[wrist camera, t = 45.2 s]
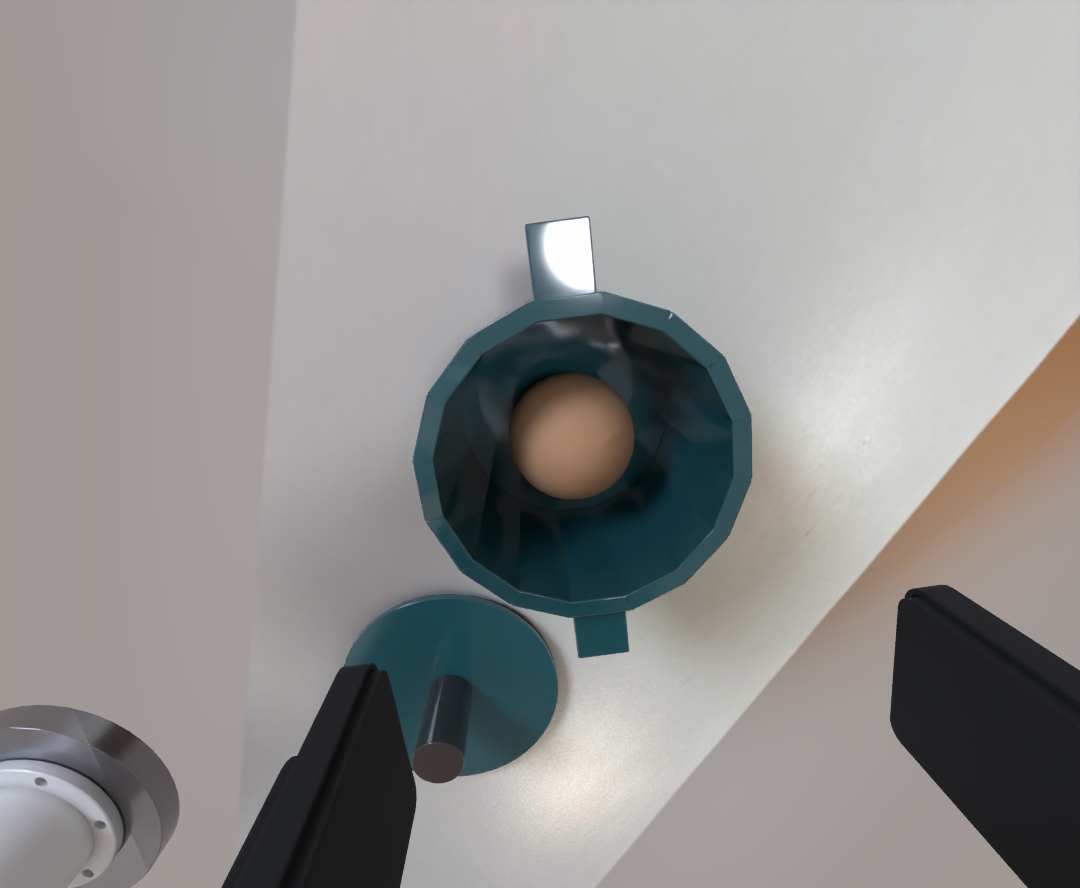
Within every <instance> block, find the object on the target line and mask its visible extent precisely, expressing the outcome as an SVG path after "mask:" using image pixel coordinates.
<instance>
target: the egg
mask: <svg viewBox="0 0 1080 888" xmlns="http://www.w3.org/2000/svg"><path fill="white" fill-rule="evenodd" d="M509 441H510V448H511V453H512V457H513V459H514V461H515V463H516V465H517V467H518V469H519V471H520V472H521V474H522V475H523V476H524V477H525V479H526V480H527V481H528V482H529V483H530V484H531V485H533V486H534V487H535V488H536V489H537V490H539V491H541V492H543V493H545V494H547V495H549V496H551V497H555V498H560V499H565V500H575V499H585V498H588V497H592V496H595V495H598V494H599V493H601V492H603V491H604V490H606V489H608V488H610V487H611V486H612V485H613V484H614V483H615V482H616V481H617V480H618V479H619V478H620V477H621V476H622V474H623V473H624V471H625V470H626V468H627V466H628V464H629V462H630V459H631V456H632V453H633V449H634V428H633V421H632V417H631V415H630V413H629V410H628V408H627V406H626V404H625V403H624V401H623V400H622V398H621V397H620V395H619V394H618V393H617V392H616V391H615V390H614V389H613V388H611V387H610V386H609V385H607V384H606V383H605V382H603V381H602V380H600V379H598V378H595V377H593V376H590V375H587V374H582V373H577V372H564V373H559V374H554V375H552V376H550V377H547V378H545V379H543V380H540V381H538V382H537V383H536V384H535V385H533V386H532V387H531V388H530V389H528V390H527V391H526V392H525V394H524V395H523V396H522V398H521V399H520V401H519V402H518V403H517V405H516V407H515V410H514V412H513V415H512V417H511V422H510V427H509Z"/></svg>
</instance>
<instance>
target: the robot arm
mask: <svg viewBox="0 0 1080 888" xmlns="http://www.w3.org/2000/svg"><path fill="white" fill-rule="evenodd" d="M890 721H891V726H892V728H893V731H894V733H895V735H896V737H897V738H898V740H899V741H900V742H901V744H902V745H903V746H904V747H905V748H906V749H907V751H908V752H909V753H910V754H911V755H912V756H913V757H914V758H915V760H916V761H917V762H918V763H919V764H920V765H921V766H922V767H923V769H924V770H925V771H926V772H927V773H928V774H929V775H930V777H931V778H932V779H933V780H934V781H935V782H936V784H937V785H938V786H939V787H940V788H941V789H942V790H943V792H944V793H945V794H946V795H947V796H948V797H949V798H950V799H951V801H952V802H953V803H954V804H955V805H956V806H957V808H958V809H959V810H960V811H961V812H962V813H963V814H964V815H965V817H966V818H967V819H968V820H969V821H970V822H971V823H972V825H973V826H974V827H975V828H976V829H977V830H978V831H979V833H980V834H981V835H982V836H983V837H984V838H985V839H986V840H987V842H988V843H989V844H990V845H991V846H992V847H993V849H994V850H995V851H996V852H997V853H998V854H999V855H1000V856H1001V858H1002V859H1003V860H1004V861H1005V862H1006V863H1007V865H1008V866H1009V867H1010V868H1011V869H1012V870H1013V871H1014V873H1016V875H1018V877H1019V878H1020V879H1021V880H1022V882H1023V883H1024V884H1025V885H1026V886H1027V887H1028V888H1080V670H1078V669H1076V668H1075V667H1073V666H1072V665H1070V664H1069V663H1067V662H1066V661H1064V660H1063V659H1061V658H1060V657H1058V656H1056V655H1055V654H1053V653H1052V652H1050V651H1049V650H1047V649H1046V648H1044V647H1043V646H1041V645H1040V644H1038V643H1036V642H1035V641H1033V640H1032V639H1030V638H1029V637H1027V636H1026V635H1024V634H1022V633H1021V632H1020V631H1018V630H1016V629H1015V628H1013V627H1012V626H1010V625H1009V624H1007V623H1006V622H1004V621H1002V620H1001V619H1000V618H998V617H996V616H995V615H993V614H992V613H990V612H989V611H987V610H986V609H984V608H983V607H981V606H980V605H978V604H976V603H975V602H973V601H972V600H970V599H968V598H967V597H966V596H964V595H963V594H961V593H959V592H958V591H956V590H955V589H953V588H951V587H949V586H947V585H936V586H929V587H922V588H915V589H911V590H909V591H908V592H907V593H906V595H905V598H904V599H902V600H901V601H900V602H899V605H898V615H897V629H896V642H895V656H894V670H893V684H892V699H891V713H890ZM415 809H416V785H415V781H414V777H413V773H412V768H411V764H410V760H409V756H408V752H407V748H406V744H405V740H404V736H403V732H402V728H401V724H400V720H399V715H398V711H397V707H396V703H395V699H394V695H393V691H392V687H391V683H390V679H389V675H388V673H387V671H386V670H381V671H378V668H377V666H376V665H375V664H374V663H369V664H362V665H355V666H347V667H342V668H341V669H340V670H339V671H338V673H337V675H336V677H335V679H334V681H333V683H332V685H331V687H330V689H329V691H328V693H327V696H326V698H325V700H324V702H323V704H322V706H321V708H320V710H319V712H318V714H317V716H316V718H315V720H314V722H313V724H312V726H311V728H310V731H309V733H308V735H307V737H306V739H305V741H304V743H303V745H302V747H301V749H300V751H299V753H298V755H297V756H293V757H291V758H290V759H289V760H288V761H287V762H286V763H285V765H284V766H283V768H282V769H281V771H280V773H279V775H278V777H277V779H276V781H275V783H274V785H273V787H272V789H271V791H270V793H269V795H268V797H267V799H266V801H265V803H264V805H263V807H262V809H261V810H260V812H259V814H258V816H257V818H256V820H255V822H254V824H253V826H252V828H251V830H250V832H249V834H248V836H247V838H246V840H245V842H244V844H243V846H242V848H241V850H240V852H239V854H238V856H237V858H236V860H235V862H234V864H233V866H232V868H231V870H230V872H229V874H228V876H227V878H226V880H225V882H224V884H223V886H222V888H400V884H401V879H402V874H403V869H404V864H405V859H406V854H407V849H408V844H409V839H410V834H411V829H412V824H413V819H414V814H415ZM123 835H124V830H123V823H122V819H121V816H120V814H119V811H118V809H117V807H116V806H115V804H114V803H113V801H112V800H111V798H110V797H109V796H108V795H107V794H106V793H105V792H104V791H103V790H102V789H101V788H100V787H99V786H98V785H96V784H95V783H94V782H92V781H91V780H90V779H88V778H86V777H85V776H83V775H81V774H79V773H77V772H75V771H73V770H71V769H68V768H65V767H63V766H60V765H57V764H53V763H48V762H44V761H36V760H8V761H3V762H0V888H75V887H78V886H81V885H83V884H86V883H89V882H90V881H92V880H94V879H95V878H97V877H98V876H100V875H101V874H102V873H103V872H104V871H105V870H106V869H107V868H108V866H109V865H110V864H111V862H112V861H113V859H114V858H115V857H116V855H117V854H118V852H119V850H120V848H121V845H122V843H123Z"/></svg>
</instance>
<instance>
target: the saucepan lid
mask: <svg viewBox="0 0 1080 888" xmlns="http://www.w3.org/2000/svg"><path fill="white" fill-rule="evenodd" d="M369 663H374V664H375V665H376V666H377V668H378V671H381V670H386V671H387V673H388V675H389V679H390V683H391V687H392V691H393V695H394V699H395V703H396V707H397V711H398V715H399V720H400V724H401V728H402V732H403V736H404V740H405V744H406V748H407V752H408V756H409V760H410V764H411V768H412V770H413V771H415V773H416V774H417V775H418V776H419V777H420V778H422V779H423V780H425V781H428V782H431V783H445V782H449V781H451V780H453V779H455V778H456V777H457V776H469V775H474V774H480V773H484V772H487V771H490V770H494V769H496V768H499V767H501V766H503V765H506V764H508V763H509V762H511V761H513V760H515V759H517V758H518V757H519V756H521V755H522V754H524V753H525V752H526V751H527V750H529V749H530V748H531V747H532V746H533V745H534V744H535V743H536V742H537V741H538V739H539V738H540V737H541V736H542V735H543V733H544V731H545V730H546V728H547V727H548V725H549V723H550V721H551V719H552V716H553V714H554V711H555V707H556V703H557V695H558V681H557V672H556V668H555V663H554V660H553V658H552V655H551V653H550V651H549V649H548V647H547V645H546V644H545V642H544V640H543V639H542V638H541V637H540V635H539V634H538V633H537V631H536V630H535V629H534V628H533V627H532V626H531V625H530V624H529V623H528V622H526V621H525V620H524V619H522V618H521V617H520V616H518V615H517V614H516V613H514V612H512V611H510V610H509V609H507V608H505V607H503V606H501V605H499V604H496V603H494V602H491V601H488V600H485V599H481V598H478V597H472V596H466V595H455V594H442V595H431V596H425V597H420V598H416V599H413V600H410V601H407V602H404V603H401V604H399V605H397V606H395V607H393V608H391V609H389V610H388V611H386V612H384V613H383V614H381V615H380V616H378V617H377V618H376V619H375V620H373V621H372V622H371V623H370V624H369V625H368V626H367V627H366V628H365V629H364V630H363V631H362V632H361V634H360V635H359V637H358V638H357V640H356V641H355V642H354V644H353V646H352V648H351V650H350V652H349V654H348V657H347V659H346V662H345V665H344V667H347V666H355V665H362V664H369Z"/></svg>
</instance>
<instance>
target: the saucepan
mask: <svg viewBox="0 0 1080 888" xmlns="http://www.w3.org/2000/svg"><path fill="white" fill-rule="evenodd" d="M525 235H526V243H527V251H528V259H529V267H530V275H531V283H532V291H533V300H528V301H526V302H524V303H522V304H521V305H519V306H517V307H516V308H514V309H512V310H510V311H509V312H507V313H505V314H504V315H502V316H500V317H499V318H497V319H495V320H494V321H492V322H490V323H489V324H487V325H485V326H484V327H483V328H481V329H480V330H478V331H477V332H476V333H474V334H473V335H471V336H470V337H469V338H468V339H467V340H466V341H465V343H464V344H463V345H462V347H461V348H460V349H459V351H458V352H457V354H456V355H455V356H454V358H453V359H452V360H451V362H450V363H449V365H448V366H447V367H446V369H445V370H444V371H443V373H442V374H441V376H440V377H439V378H438V380H437V381H436V383H435V384H434V385H433V387H432V388H431V389H430V391H429V392H428V395H427V396H426V400H425V405H424V409H423V414H422V419H421V423H420V428H419V432H418V437H417V442H416V446H415V451H414V455H413V465H414V470H415V475H416V479H417V484H418V489H419V494H420V499H421V504H422V509H423V514H424V518H425V521H426V522H427V524H428V526H429V527H430V529H431V530H432V531H433V533H434V534H435V536H436V537H437V539H438V540H439V541H440V543H441V544H442V546H443V547H444V549H445V550H446V552H447V553H448V554H449V556H450V557H451V559H452V560H453V562H454V563H455V564H456V566H457V567H458V569H459V570H460V571H461V572H462V573H463V574H465V575H466V576H468V577H469V578H471V579H472V580H474V581H475V582H477V583H478V584H480V585H481V586H483V587H485V588H486V589H488V590H489V591H491V592H492V593H494V594H495V595H497V596H498V597H500V598H501V599H503V600H504V601H506V602H508V603H509V604H512V605H513V606H517V607H522V608H526V609H531V610H536V611H540V612H545V613H549V614H554V615H558V616H563V617H567V618H570V617H571V618H573V621H574V629H575V637H576V645H577V651H578V657H579V658H585V657H593V656H601V655H608V654H616V653H624V652H629V644H628V633H627V622H626V611H630V610H633V609H635V608H637V607H639V606H641V605H643V604H645V603H647V602H649V601H651V600H653V599H655V598H657V597H659V596H661V595H663V594H665V593H667V592H669V591H671V590H673V589H675V588H677V587H679V586H681V585H683V584H685V583H686V581H688V580H689V579H690V578H691V577H692V576H693V575H694V573H695V572H696V571H697V570H698V569H699V568H700V567H701V566H702V565H703V564H704V563H705V562H706V561H707V560H708V559H709V557H710V556H711V555H712V554H713V553H714V552H715V551H716V550H717V549H718V548H719V547H720V546H721V545H722V544H723V543H724V542H725V540H726V539H727V538H728V537H727V536H729V535H730V532H731V530H732V527H733V525H734V523H735V520H736V518H737V515H738V513H739V510H740V508H741V505H742V503H743V500H744V498H745V495H746V493H747V491H748V488H749V486H750V483H751V479H752V429H751V413H750V411H749V409H748V406H747V404H746V402H745V400H744V398H743V395H742V393H741V391H740V389H739V387H738V385H737V382H736V380H735V378H734V376H733V374H732V372H731V369H730V367H729V365H728V363H727V361H726V359H725V357H724V356H723V355H722V354H721V353H720V352H719V351H718V350H717V349H715V348H714V347H713V346H712V345H711V344H710V343H708V342H707V341H706V340H705V339H704V338H703V337H701V336H700V335H699V334H698V333H697V332H696V331H694V330H693V329H692V328H691V327H690V326H689V325H687V324H686V323H685V322H684V321H683V320H682V319H680V318H679V317H678V316H677V315H676V314H675V313H673V312H671V311H669V310H666V309H663V308H659V307H656V306H652V305H649V304H645V303H642V302H638V301H635V300H632V299H628V298H625V297H621V296H618V295H614V294H611V293H607V292H602V291H601V292H596V282H595V271H594V260H593V249H592V238H591V227H590V218H589V216H585V217H577V218H570V219H562V220H554V221H547V222H539V223H532V224H526V225H525ZM564 372H577V373H582V374H587V375H590V376H593V377H595V378H598V379H600V380H602V381H603V382H605V383H606V384H607V385H609V386H610V387H611V388H613V389H614V390H615V391H616V392H617V393H618V394H619V395H620V397H621V398H622V400H623V401H624V403H625V404H626V406H627V408H628V410H629V413H630V415H631V417H632V421H633V428H634V449H633V453H632V456H631V459H630V462H629V464H628V466H627V468H626V470H625V471H624V473H623V474H622V476H621V477H620V478H619V479H618V480H617V481H616V482H615V483H614V484H613V485H612V486H611V487H610V488H608V489H606V490H604V491H603V492H601V493H599V494H598V495H595V496H592V497H588V498H585V499H575V500H565V499H560V498H555V497H551V496H549V495H547V494H545V493H543V492H541V491H539V490H537V489H536V488H535V487H534V486H533V485H531V484H530V483H529V482H528V481H527V480H526V479H525V477H524V476H523V475H522V474H521V472H520V471H519V469H518V467H517V465H516V463H515V461H514V459H513V457H512V453H511V448H510V441H509V427H510V422H511V417H512V415H513V412H514V410H515V407H516V405H517V403H518V402H519V401H520V399H521V398H522V396H523V395H524V394H525V392H526V391H527V390H528V389H530V388H531V387H532V386H533V385H535V384H536V383H537V382H538V381H540V380H543V379H545V378H547V377H550V376H552V375H554V374H559V373H564Z"/></svg>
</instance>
